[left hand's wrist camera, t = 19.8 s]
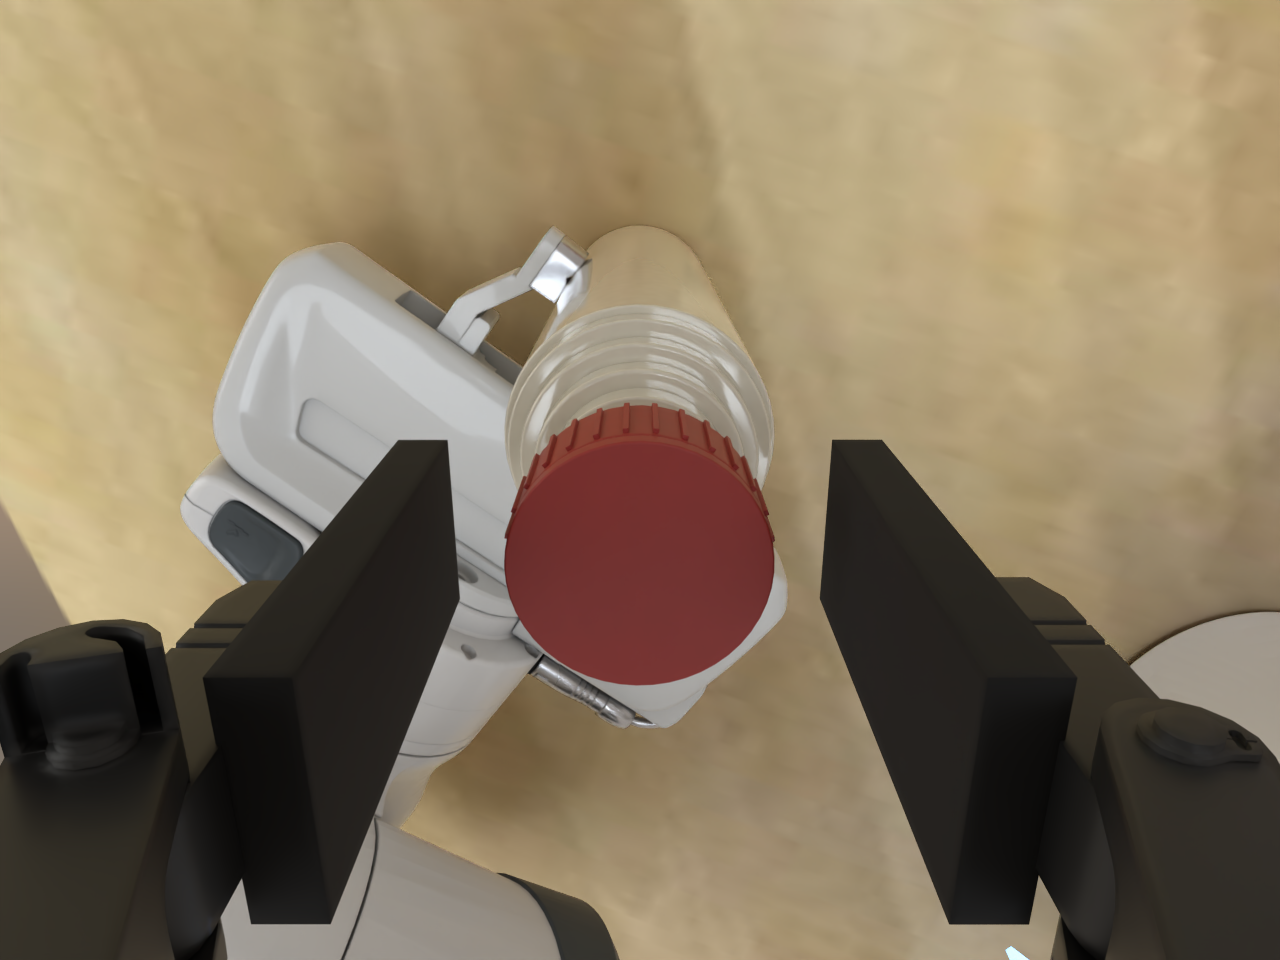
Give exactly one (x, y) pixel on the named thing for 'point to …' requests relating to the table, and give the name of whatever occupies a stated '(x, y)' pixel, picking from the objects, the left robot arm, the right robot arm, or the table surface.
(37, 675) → the left robot arm
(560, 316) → the bottle
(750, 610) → the cap
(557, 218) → the table surface
